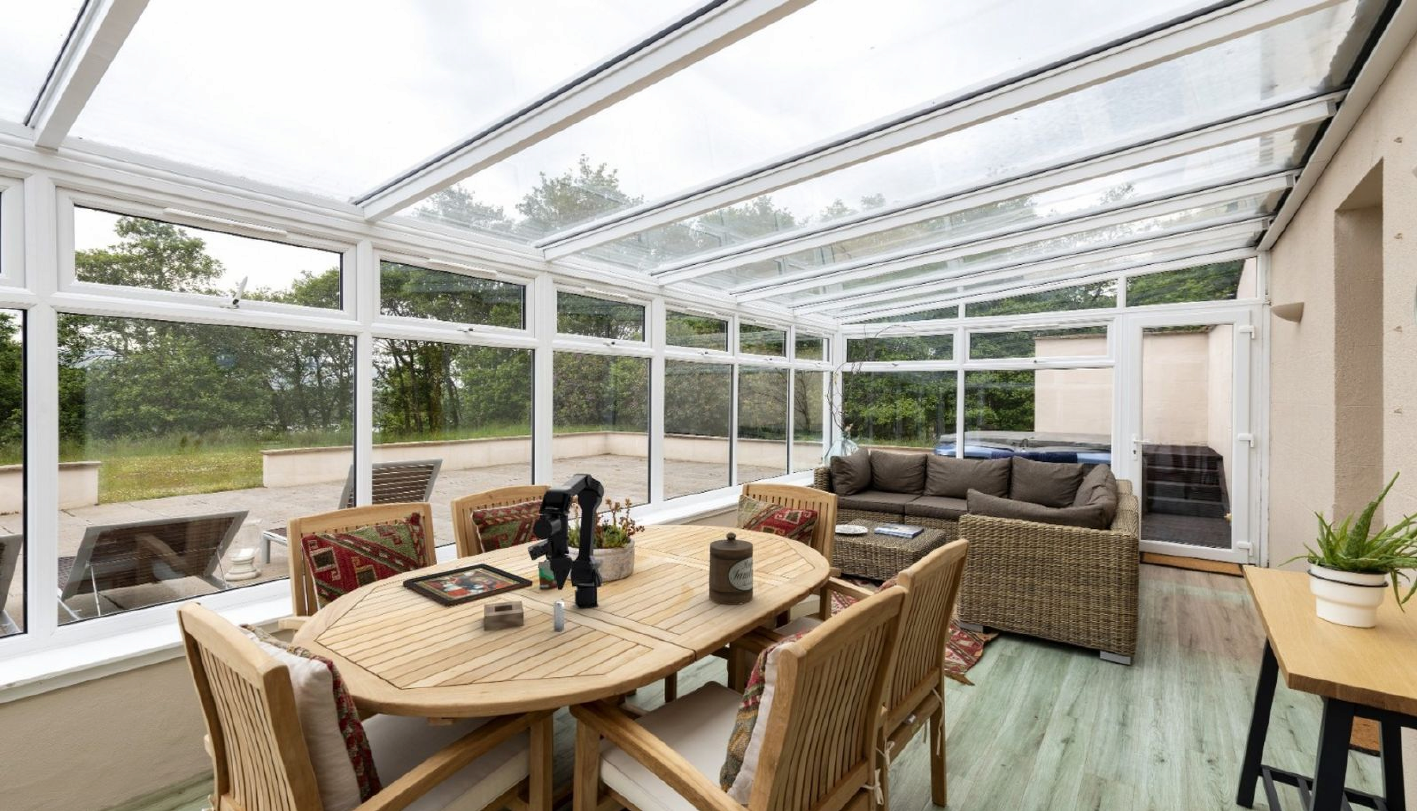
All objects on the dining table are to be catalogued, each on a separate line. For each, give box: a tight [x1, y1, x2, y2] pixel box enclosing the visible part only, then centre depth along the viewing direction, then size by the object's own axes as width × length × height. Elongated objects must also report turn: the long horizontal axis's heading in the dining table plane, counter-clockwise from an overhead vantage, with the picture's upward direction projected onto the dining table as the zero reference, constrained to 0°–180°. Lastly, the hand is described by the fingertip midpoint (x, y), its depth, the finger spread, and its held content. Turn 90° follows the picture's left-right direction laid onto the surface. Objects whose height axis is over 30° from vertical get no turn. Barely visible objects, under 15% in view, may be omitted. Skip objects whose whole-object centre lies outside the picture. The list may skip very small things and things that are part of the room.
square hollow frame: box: [483, 600, 525, 631], centre depth 188 cm, size 11×11×4 cm
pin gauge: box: [553, 599, 565, 632], centre depth 182 cm, size 3×3×8 cm
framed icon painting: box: [402, 563, 533, 608], centre depth 224 cm, size 38×35×3 cm
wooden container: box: [708, 532, 754, 605], centre depth 211 cm, size 15×15×22 cm
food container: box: [537, 558, 558, 591], centre depth 224 cm, size 12×6×10 cm, turn 168°
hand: (558, 585), depth 182 cm, fingers open, 9 cm apart
